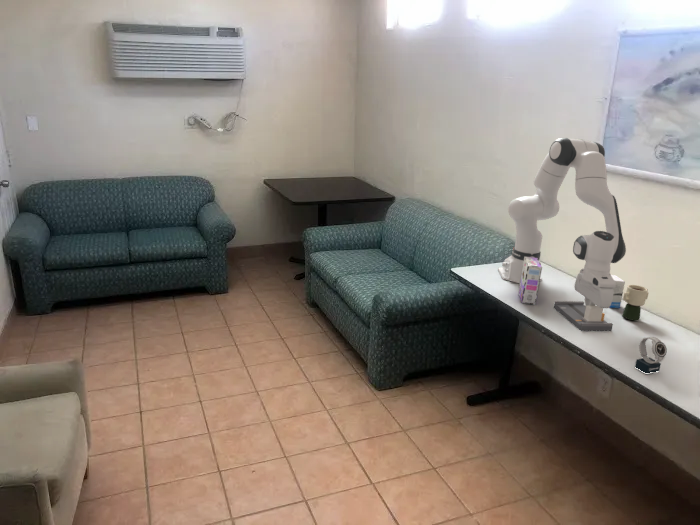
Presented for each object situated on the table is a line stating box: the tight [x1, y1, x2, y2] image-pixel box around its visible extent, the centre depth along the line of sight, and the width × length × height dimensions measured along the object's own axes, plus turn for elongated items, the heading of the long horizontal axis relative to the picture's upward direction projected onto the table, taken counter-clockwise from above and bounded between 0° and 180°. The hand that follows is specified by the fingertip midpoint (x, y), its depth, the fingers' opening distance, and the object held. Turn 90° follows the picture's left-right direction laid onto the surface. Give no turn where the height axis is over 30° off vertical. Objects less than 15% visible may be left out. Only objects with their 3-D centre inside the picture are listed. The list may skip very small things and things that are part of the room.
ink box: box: [608, 274, 626, 309], centre depth 228 cm, size 9×5×12 cm, turn 0°
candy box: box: [518, 257, 543, 306], centre depth 228 cm, size 14×6×16 cm, turn 168°
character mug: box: [622, 284, 649, 322], centre depth 214 cm, size 11×7×13 cm, turn 104°
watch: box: [634, 336, 668, 373], centre depth 173 cm, size 6×8×11 cm
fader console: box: [553, 300, 614, 332], centre depth 212 cm, size 22×12×5 cm, turn 6°
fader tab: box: [582, 305, 604, 323], centre depth 204 cm, size 4×6×6 cm, turn 96°
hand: (588, 310), depth 207 cm, fingers closed
